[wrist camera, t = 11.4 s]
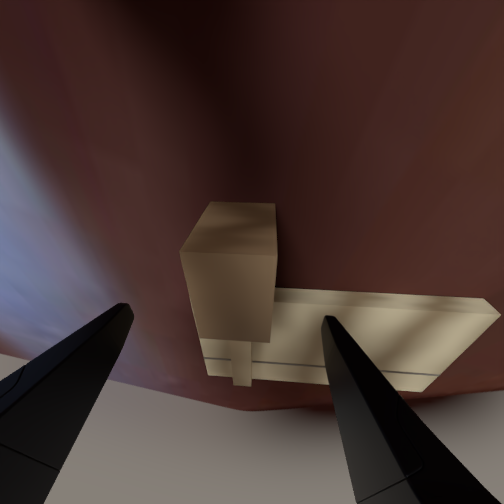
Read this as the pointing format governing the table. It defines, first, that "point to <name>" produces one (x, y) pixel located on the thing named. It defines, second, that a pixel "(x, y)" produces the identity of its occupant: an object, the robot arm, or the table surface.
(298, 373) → the board
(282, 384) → the table surface
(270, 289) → the wooden mallet
